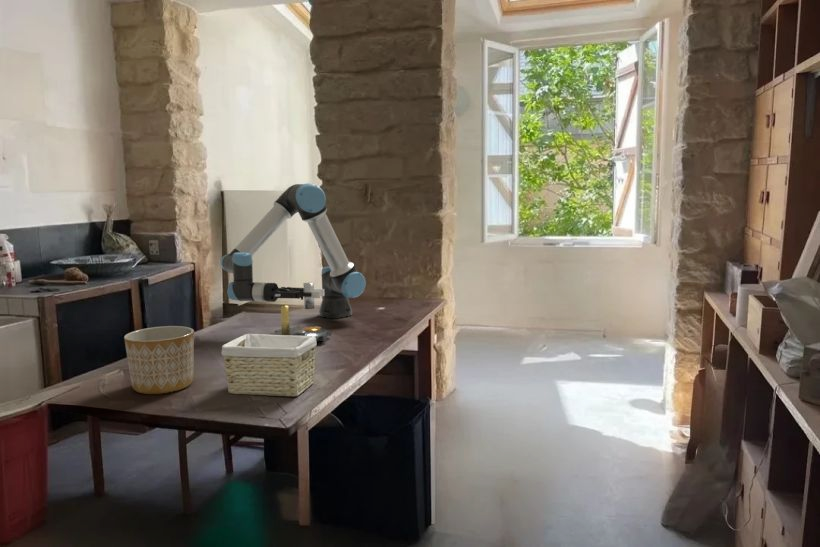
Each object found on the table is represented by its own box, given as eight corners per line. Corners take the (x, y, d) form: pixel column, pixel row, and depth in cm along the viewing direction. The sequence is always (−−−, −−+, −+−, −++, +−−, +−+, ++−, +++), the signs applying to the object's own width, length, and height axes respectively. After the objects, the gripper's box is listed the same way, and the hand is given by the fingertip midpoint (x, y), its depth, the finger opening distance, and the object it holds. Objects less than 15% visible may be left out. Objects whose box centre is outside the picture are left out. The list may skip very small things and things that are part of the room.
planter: (195, 393, 181) (192, 337, 179) (123, 400, 176) (119, 343, 174) (198, 374, 200) (195, 324, 197) (133, 380, 194) (129, 328, 192)
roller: (313, 307, 248) (312, 282, 247) (315, 308, 244) (314, 283, 243) (303, 307, 247) (302, 282, 245) (304, 309, 243) (304, 284, 242)
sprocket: (325, 328, 256) (324, 295, 254) (336, 341, 234) (334, 305, 232) (267, 333, 249) (266, 299, 247) (273, 347, 227) (271, 310, 225)
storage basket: (221, 395, 180) (218, 345, 178) (248, 378, 195) (245, 332, 193) (298, 400, 174) (296, 349, 172) (319, 382, 190) (318, 335, 188)
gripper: (275, 297, 257) (329, 299, 252) (257, 305, 240) (314, 307, 236) (274, 279, 256) (328, 281, 251) (256, 286, 239) (314, 287, 235)
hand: (321, 293), depth 244 cm, fingers closed on roller, 4 cm apart
